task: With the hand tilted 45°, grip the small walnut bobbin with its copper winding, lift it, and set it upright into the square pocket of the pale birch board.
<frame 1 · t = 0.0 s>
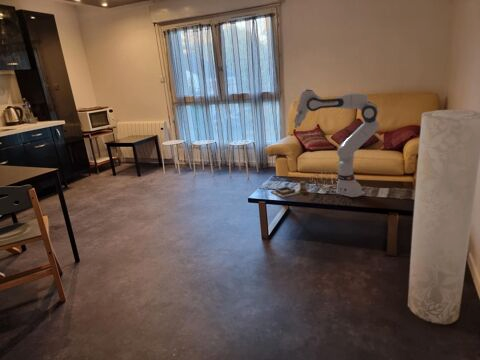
hand: (297, 126, 268), 52 cm above the table, fingers open, 8 cm apart
bobbin: (303, 191, 274), on the table
pocket board: (285, 193, 274), on the table
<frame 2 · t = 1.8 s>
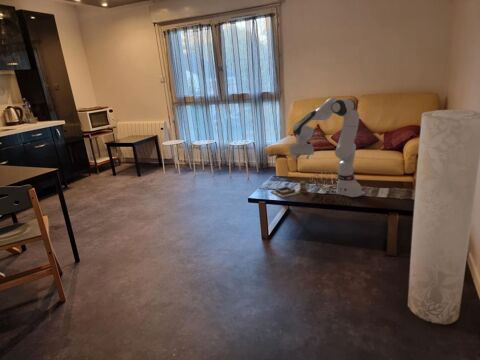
hand: (301, 158, 279), 24 cm above the table, fingers open, 8 cm apart
nothing on the table moved.
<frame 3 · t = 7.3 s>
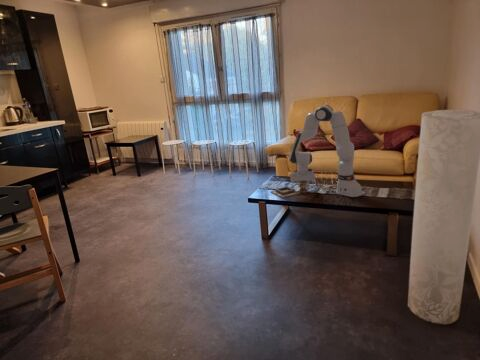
hand: (303, 186, 272), 4 cm above the table, fingers closed on bobbin, 5 cm apart
bobbin: (303, 191, 274), on the table, touching gripper
when the fingers open (7 cm above the table, at t = 12.9 s): bobbin drops 1 cm, resting on pocket board.
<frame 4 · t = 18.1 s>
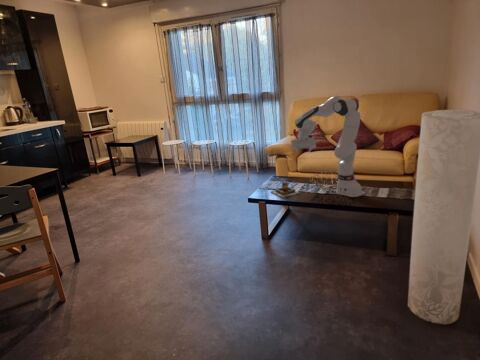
hand: (303, 152, 280), 29 cm above the table, fingers open, 8 cm apart
bobbin: (285, 191, 273), point 1 cm above the table, touching pocket board
at the end: bobbin 0.1 cm off-centre on the pocket board, point 1.2 cm above the pocket board's base; bobbin tilted 0°; the gripper is holding nothing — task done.
